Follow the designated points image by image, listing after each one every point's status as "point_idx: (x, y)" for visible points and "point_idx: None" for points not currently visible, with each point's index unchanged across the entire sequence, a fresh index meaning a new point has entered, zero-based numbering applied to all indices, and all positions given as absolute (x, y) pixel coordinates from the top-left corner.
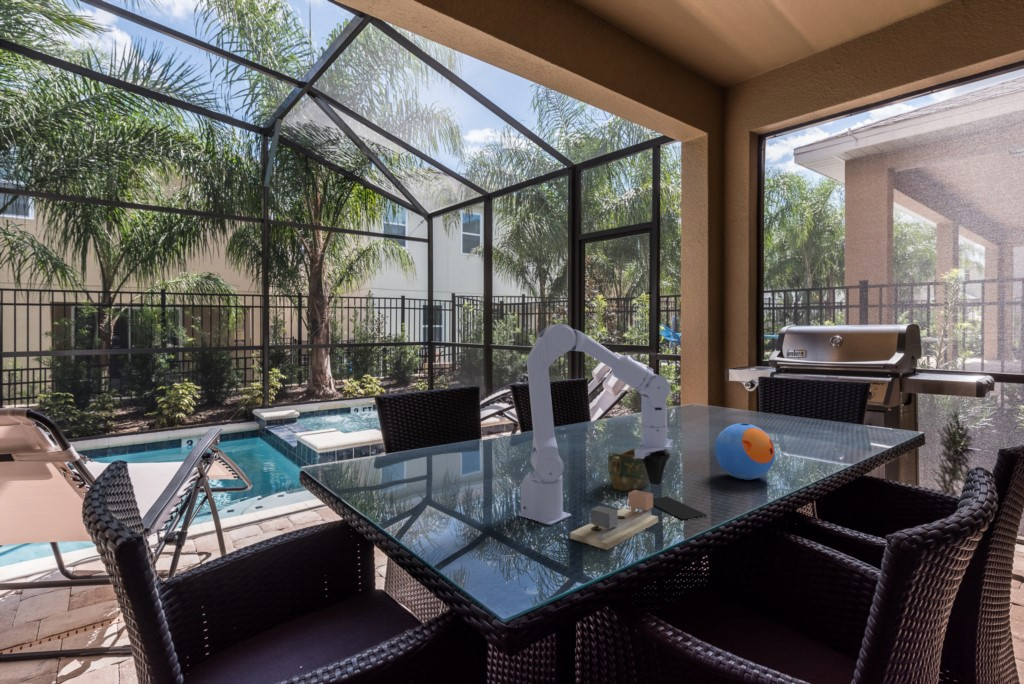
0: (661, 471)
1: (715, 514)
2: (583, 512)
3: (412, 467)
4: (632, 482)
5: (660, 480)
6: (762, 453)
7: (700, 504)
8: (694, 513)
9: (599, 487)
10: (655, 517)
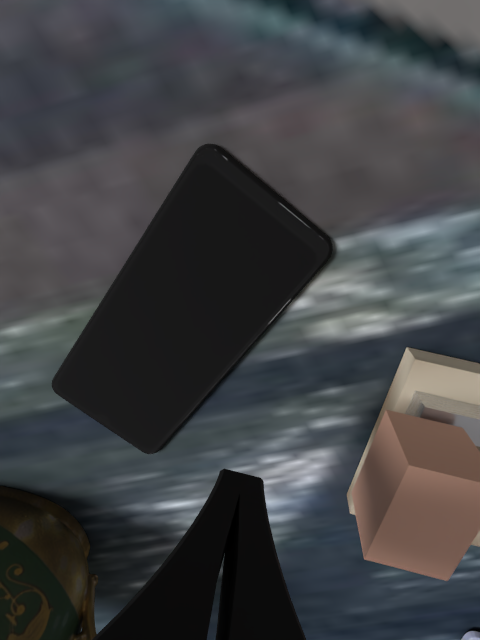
0: (221, 551)
1: (143, 105)
2: (400, 602)
3: None
4: (58, 549)
5: (232, 487)
6: None
7: (38, 225)
8: (218, 211)
9: (98, 604)
10: (434, 367)
